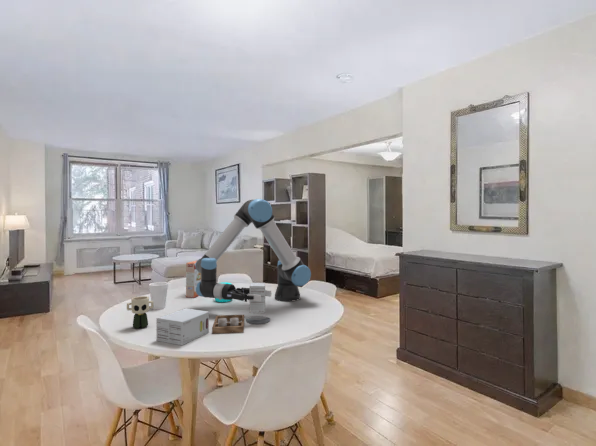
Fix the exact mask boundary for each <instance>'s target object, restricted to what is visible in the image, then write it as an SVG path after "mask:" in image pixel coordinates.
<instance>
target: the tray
mask: <svg viewBox="0 0 596 446" xmlns="http://www.w3.org/2000/svg"><path fill="white" fill-rule="evenodd" d="M244 329H245V314H225V315H222V314H220V315H216V316H215V319H214V322H213V324H212V326H211V334H215V335H216V334H234V333H235V334H236V333H240V334H241V333H244Z"/></svg>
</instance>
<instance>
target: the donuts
mask: <svg viewBox="0 0 596 446" xmlns="http://www.w3.org/2000/svg"><path fill="white" fill-rule="evenodd" d="M220 283H224V284H232V283H231V282H220ZM214 301H215V302H217V303H228V302H229V303H230V302H232V300H225V299H221V300H219V298H214Z"/></svg>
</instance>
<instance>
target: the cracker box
mask: <svg viewBox="0 0 596 446" xmlns="http://www.w3.org/2000/svg"><path fill="white" fill-rule="evenodd" d="M197 260H198V259H196V260H193V261H189V262H186V264H185V298H191V299H194V298H196V297H199V296H198V295H197V293H196V287H197V284H198V283H199V282H201V273H199V272H198V271H197V269H196V267H195V264H196V262H197Z"/></svg>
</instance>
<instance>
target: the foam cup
mask: <svg viewBox="0 0 596 446" xmlns="http://www.w3.org/2000/svg"><path fill="white" fill-rule="evenodd" d="M168 289H169V282H166V281H158V282H151V283H149V284H148V290H149V294H150V301H153V303H154V307H153V308H151V309H152V310H155V311H158V310H164V309H166V303H167V296H168Z"/></svg>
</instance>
